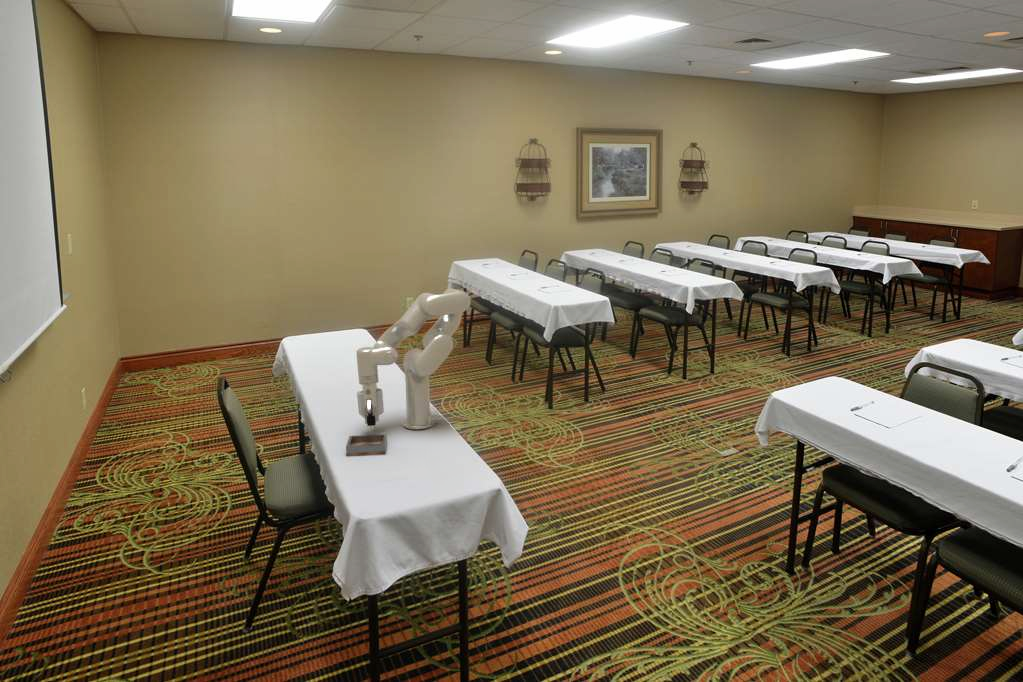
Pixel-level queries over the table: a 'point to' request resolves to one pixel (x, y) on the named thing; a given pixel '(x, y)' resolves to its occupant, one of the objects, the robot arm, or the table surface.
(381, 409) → the charger
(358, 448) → the tray
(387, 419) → the table surface
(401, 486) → the table surface
